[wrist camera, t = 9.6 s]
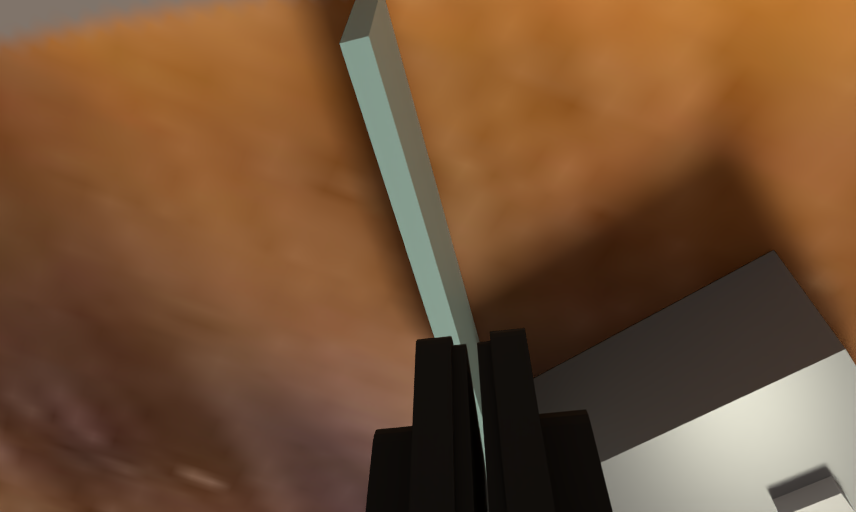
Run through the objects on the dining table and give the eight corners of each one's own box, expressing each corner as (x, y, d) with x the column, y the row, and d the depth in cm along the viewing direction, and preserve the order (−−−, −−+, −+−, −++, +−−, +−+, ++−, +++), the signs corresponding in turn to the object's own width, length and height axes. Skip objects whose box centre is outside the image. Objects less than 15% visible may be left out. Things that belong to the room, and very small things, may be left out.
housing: (585, 509, 38) (611, 635, 32) (477, 408, 34) (485, 533, 28) (859, 388, 33) (947, 514, 27) (773, 249, 28) (857, 365, 23)
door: (497, 402, 33) (506, 495, 29) (479, 405, 33) (485, 498, 29) (383, -14, 22) (370, 35, 18) (356, -7, 22) (337, 43, 18)
